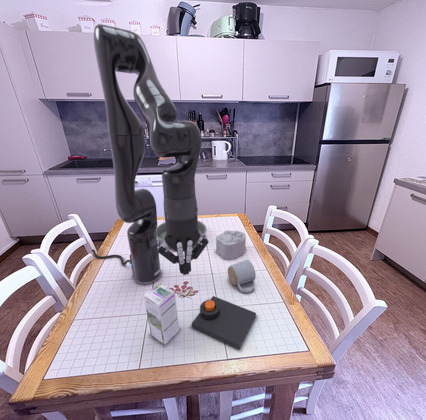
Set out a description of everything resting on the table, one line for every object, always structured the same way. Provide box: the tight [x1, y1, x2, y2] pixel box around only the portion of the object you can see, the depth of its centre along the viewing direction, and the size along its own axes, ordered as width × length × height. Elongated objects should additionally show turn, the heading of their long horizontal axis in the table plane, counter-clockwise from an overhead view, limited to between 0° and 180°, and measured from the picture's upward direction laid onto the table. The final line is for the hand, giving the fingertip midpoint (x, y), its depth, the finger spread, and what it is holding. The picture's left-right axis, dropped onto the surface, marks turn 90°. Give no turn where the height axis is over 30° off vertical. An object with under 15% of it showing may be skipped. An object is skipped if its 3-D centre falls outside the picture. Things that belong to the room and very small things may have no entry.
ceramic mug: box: [227, 259, 257, 294], centre depth 83 cm, size 11×8×8 cm
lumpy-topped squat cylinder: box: [215, 229, 247, 261], centre depth 103 cm, size 10×13×9 cm
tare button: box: [205, 299, 215, 312], centre depth 70 cm, size 3×3×2 cm
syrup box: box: [143, 283, 180, 346], centre depth 63 cm, size 6×6×14 cm
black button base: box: [191, 295, 257, 350], centre depth 69 cm, size 16×12×4 cm
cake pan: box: [156, 220, 208, 250], centre depth 114 cm, size 25×25×4 cm
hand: (185, 272), depth 61 cm, fingers closed
